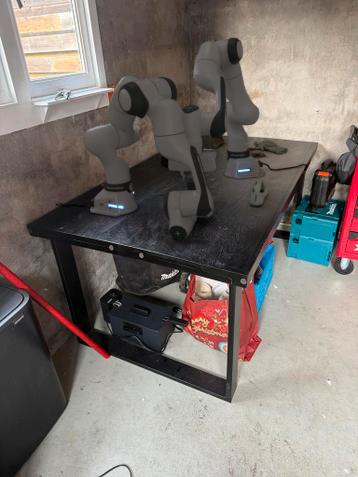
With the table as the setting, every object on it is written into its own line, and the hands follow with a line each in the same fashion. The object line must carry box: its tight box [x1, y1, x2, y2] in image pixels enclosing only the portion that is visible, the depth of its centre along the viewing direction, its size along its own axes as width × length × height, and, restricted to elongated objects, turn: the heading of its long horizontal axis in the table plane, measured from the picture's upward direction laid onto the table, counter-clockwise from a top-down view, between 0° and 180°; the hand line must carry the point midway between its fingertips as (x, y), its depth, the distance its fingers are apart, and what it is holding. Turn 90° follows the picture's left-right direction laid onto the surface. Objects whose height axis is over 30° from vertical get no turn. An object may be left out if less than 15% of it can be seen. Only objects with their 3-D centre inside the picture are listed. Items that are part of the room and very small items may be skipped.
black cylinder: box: [186, 181, 196, 191], centre depth 145 cm, size 5×5×17 cm
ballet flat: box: [249, 179, 269, 207], centre depth 158 cm, size 8×24×8 cm, turn 163°
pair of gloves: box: [247, 139, 289, 158], centre depth 226 cm, size 30×26×5 cm
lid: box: [185, 173, 194, 183], centre depth 141 cm, size 6×6×2 cm
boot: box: [211, 135, 225, 149], centre depth 246 cm, size 9×24×20 cm, turn 168°
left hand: (193, 201), depth 148 cm, fingers closed on black cylinder, 5 cm apart
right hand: (192, 180), depth 142 cm, fingers closed on lid, 5 cm apart
